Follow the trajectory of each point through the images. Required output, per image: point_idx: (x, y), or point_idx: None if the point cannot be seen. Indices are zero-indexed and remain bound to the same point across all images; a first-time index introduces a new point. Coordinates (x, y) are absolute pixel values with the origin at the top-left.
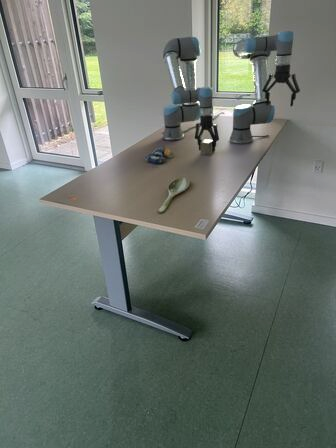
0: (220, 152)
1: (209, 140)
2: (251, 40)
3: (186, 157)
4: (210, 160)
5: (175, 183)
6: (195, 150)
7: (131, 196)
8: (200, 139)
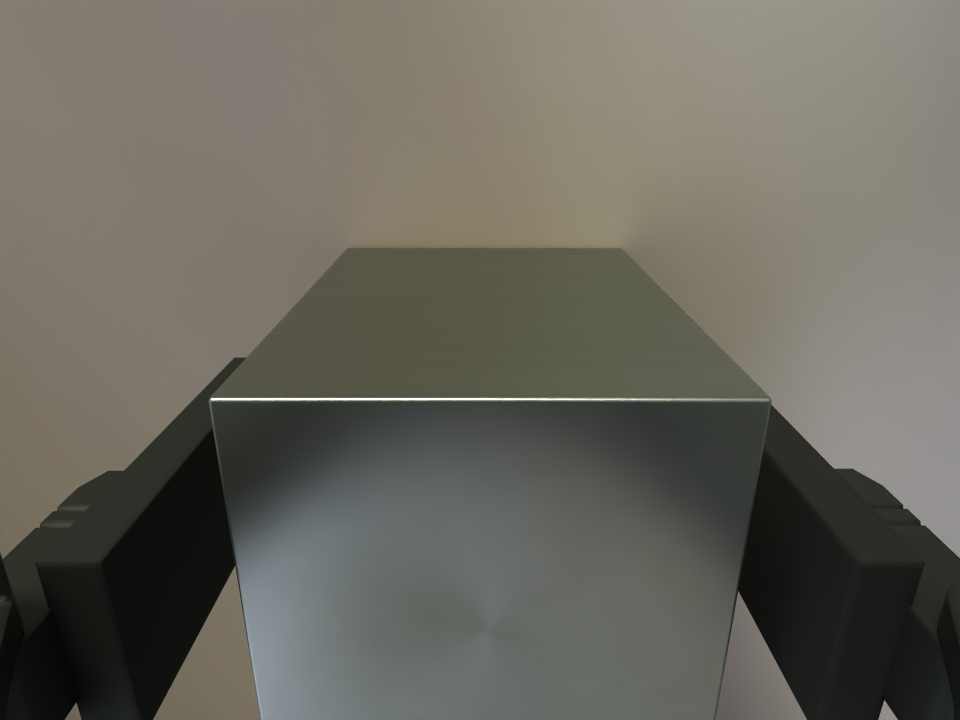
0: (818, 180)
1: (567, 512)
2: None
3: (184, 716)
4: (734, 698)
5: None
6: (47, 277)
7: None
8: (58, 597)
